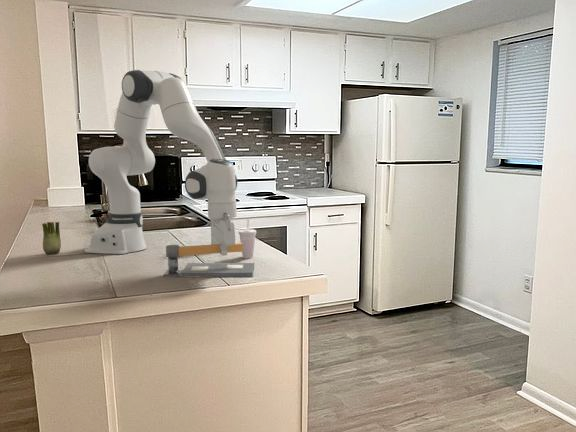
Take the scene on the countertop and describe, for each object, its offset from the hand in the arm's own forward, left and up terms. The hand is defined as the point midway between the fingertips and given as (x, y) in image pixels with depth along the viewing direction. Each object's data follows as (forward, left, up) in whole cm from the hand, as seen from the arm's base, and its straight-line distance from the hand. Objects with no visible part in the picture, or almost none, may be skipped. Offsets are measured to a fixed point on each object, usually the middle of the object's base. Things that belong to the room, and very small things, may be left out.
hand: (223, 254), depth 160 cm
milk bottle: (-5, +34, -6) cm, 35 cm away
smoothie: (+6, +20, -6) cm, 22 cm away
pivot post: (-16, -2, -6) cm, 17 cm away
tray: (-2, +1, -6) cm, 6 cm away
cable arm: (-6, +1, 0) cm, 6 cm away
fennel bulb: (-66, +26, -6) cm, 71 cm away
